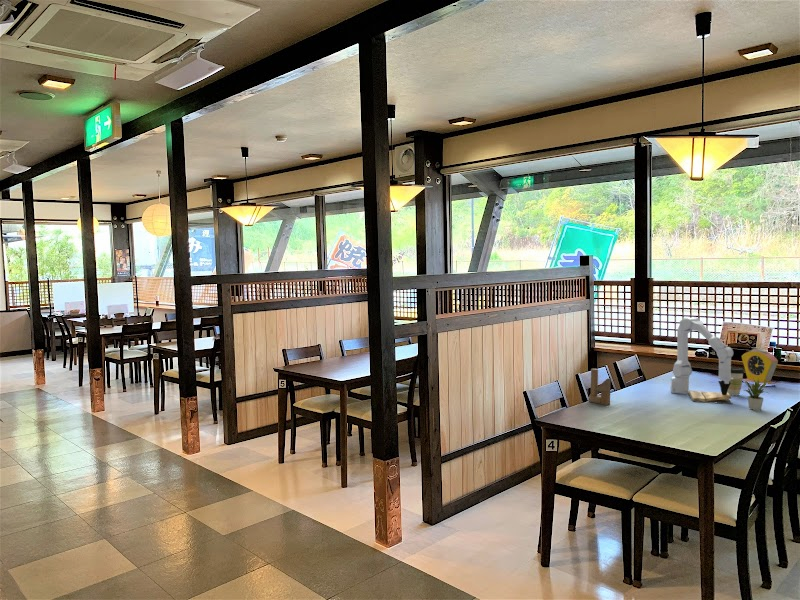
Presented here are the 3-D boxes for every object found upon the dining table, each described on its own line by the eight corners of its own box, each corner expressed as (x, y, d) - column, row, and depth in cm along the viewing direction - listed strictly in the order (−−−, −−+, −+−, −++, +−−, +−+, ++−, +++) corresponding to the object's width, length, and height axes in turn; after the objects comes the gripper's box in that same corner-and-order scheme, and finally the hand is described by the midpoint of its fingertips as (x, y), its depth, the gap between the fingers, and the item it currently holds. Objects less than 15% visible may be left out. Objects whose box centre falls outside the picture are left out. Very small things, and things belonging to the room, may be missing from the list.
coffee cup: (741, 397, 333) (742, 370, 332) (722, 395, 339) (722, 368, 338) (744, 394, 341) (745, 368, 340) (725, 392, 347) (725, 366, 346)
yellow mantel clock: (737, 381, 378) (738, 347, 377) (749, 380, 381) (750, 346, 380) (768, 388, 357) (769, 352, 356) (780, 387, 360) (781, 351, 359)
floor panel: (693, 401, 325) (693, 397, 325) (688, 393, 343) (688, 390, 343) (732, 404, 318) (732, 400, 318) (725, 396, 337) (726, 392, 337)
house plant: (778, 414, 297) (779, 381, 296) (747, 412, 300) (748, 380, 299) (766, 407, 311) (767, 376, 310) (737, 406, 314) (738, 375, 313)
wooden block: (606, 405, 316) (607, 371, 315) (588, 401, 325) (589, 368, 323) (610, 404, 319) (611, 370, 317) (592, 400, 327) (593, 368, 326)
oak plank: (706, 401, 323) (706, 398, 323) (704, 397, 332) (703, 395, 332) (731, 398, 319) (730, 395, 319) (728, 394, 328) (727, 392, 328)
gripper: (735, 372, 315) (735, 397, 316) (730, 367, 329) (730, 392, 329) (720, 371, 317) (720, 396, 318) (716, 367, 331) (715, 391, 332)
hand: (724, 394), depth 324 cm, fingers closed, pressing on oak plank
